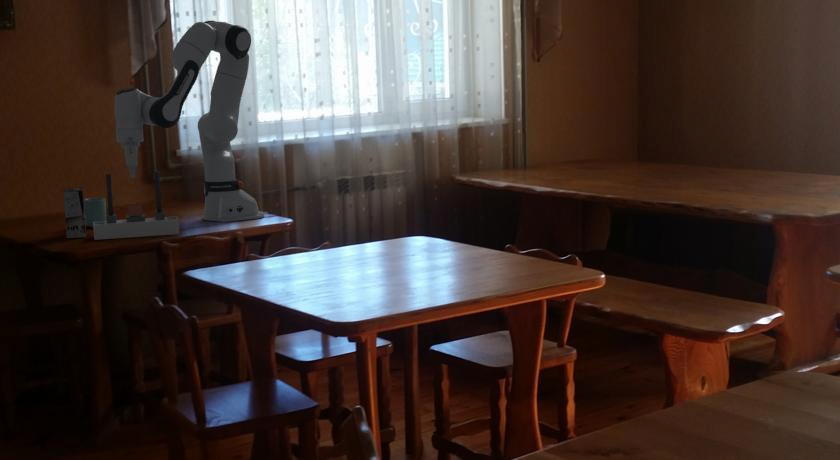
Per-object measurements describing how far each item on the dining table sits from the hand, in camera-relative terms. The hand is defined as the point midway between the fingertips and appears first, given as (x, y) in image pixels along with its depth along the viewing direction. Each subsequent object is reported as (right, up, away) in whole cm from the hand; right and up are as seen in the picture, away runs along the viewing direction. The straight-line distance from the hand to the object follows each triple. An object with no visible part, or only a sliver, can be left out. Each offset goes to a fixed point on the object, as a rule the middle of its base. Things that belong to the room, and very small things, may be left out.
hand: (132, 177), depth 357 cm
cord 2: (+8, -14, +5) cm, 17 cm away
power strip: (0, -20, +4) cm, 20 cm away
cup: (-19, -17, +22) cm, 34 cm away
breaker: (0, -13, +3) cm, 13 cm away
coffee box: (-21, -20, +5) cm, 29 cm away
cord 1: (-7, -15, +1) cm, 17 cm away
